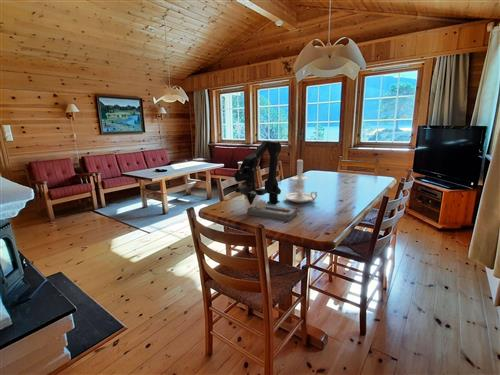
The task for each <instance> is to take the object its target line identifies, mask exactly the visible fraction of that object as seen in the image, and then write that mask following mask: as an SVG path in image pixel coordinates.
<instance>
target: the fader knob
mask: <svg viewBox="0 0 500 375" xmlns="http://www.w3.org/2000/svg"><path fill="white" fill-rule="evenodd" d="M266 202H267V200H263V199H258V200H256V201H255V205H256V208H259V209H266V205H267V204H266Z"/></svg>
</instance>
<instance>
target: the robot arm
mask: <svg viewBox="0 0 500 375" xmlns="http://www.w3.org/2000/svg"><path fill="white" fill-rule="evenodd" d="M281 150H282V144H281V142H279V141H270V140H263V141H261V144H259V145H258V147H257V148H256V149H254V151H253V152H252V153H251V154H248V155H247V156H245V157H244V158H243V159H242V162H241V164H240V167H239V169H236V172H235V173H234V175H233V177H234V178H233V179H234V180H235V181H236V182H238V183H240V182H243V185H238V186H237V187H235V188H234V193H240V194H241V195H242V194H243V195H244V196H245V197H246V199H247V200H248V203H249V205H252V206H253V203H254V200H255V198H256V196H264V195H265V194H268V201H266V202H267V204H273V205H274V204H275V205H277V204H278V203H280V202H281V201H280V200H278V199H279V198H278V196H279V195H280V194H281V193H282V190H281V189H280V187H279V182H278V180H277V172H278V171H277V170H278V168H277V167H278V158H279V157H278V156H279V155H280V153H281ZM266 151H267V153H268V155H269V164H268V176H267V177H268V178H267V179H266V180H264V186H263V187H264V188H262V187H260V188H257V186H256V182H257V180H256V171H258V169H257V167H256V166H257V165H258V163H259V159H260V158H261V157H262V156H263V154H264V153H265V152H266Z"/></svg>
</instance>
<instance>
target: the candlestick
mask: <svg viewBox="0 0 500 375" xmlns="http://www.w3.org/2000/svg"><path fill="white" fill-rule="evenodd" d="M303 171H304V161H303V159H297V160H296V176H292V177H290V179H291V180H293V181H296V184H295V190H296V191H297V192H291V193H286V194H284V195H283V197H284V199H286V200H288V201H289V202H293V203H300V204H301V203H308V202H315V200H316V199H317V197H318V194H319V193H318V191H312V192H311V193H307V192H303V190H304V189H305V186H304V183H303V181H306V180H308V179H309V177H308V176H303ZM317 193H318V194H317Z"/></svg>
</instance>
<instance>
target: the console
mask: <svg viewBox="0 0 500 375" xmlns="http://www.w3.org/2000/svg"><path fill="white" fill-rule="evenodd" d="M246 215H251V216H256V217H262V218H268V219H274V220H280V221H285V222H289V221H291V220H292V219H294V218H295V217H296V216H297V215H298V211H297V209H295V208H289V207H282V206H276V205H275V206H274V205H267V204H266V209H259V208H256V204H254V205H252V206H249V207H248V208H247V211H246ZM294 216H295V217H294Z"/></svg>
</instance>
